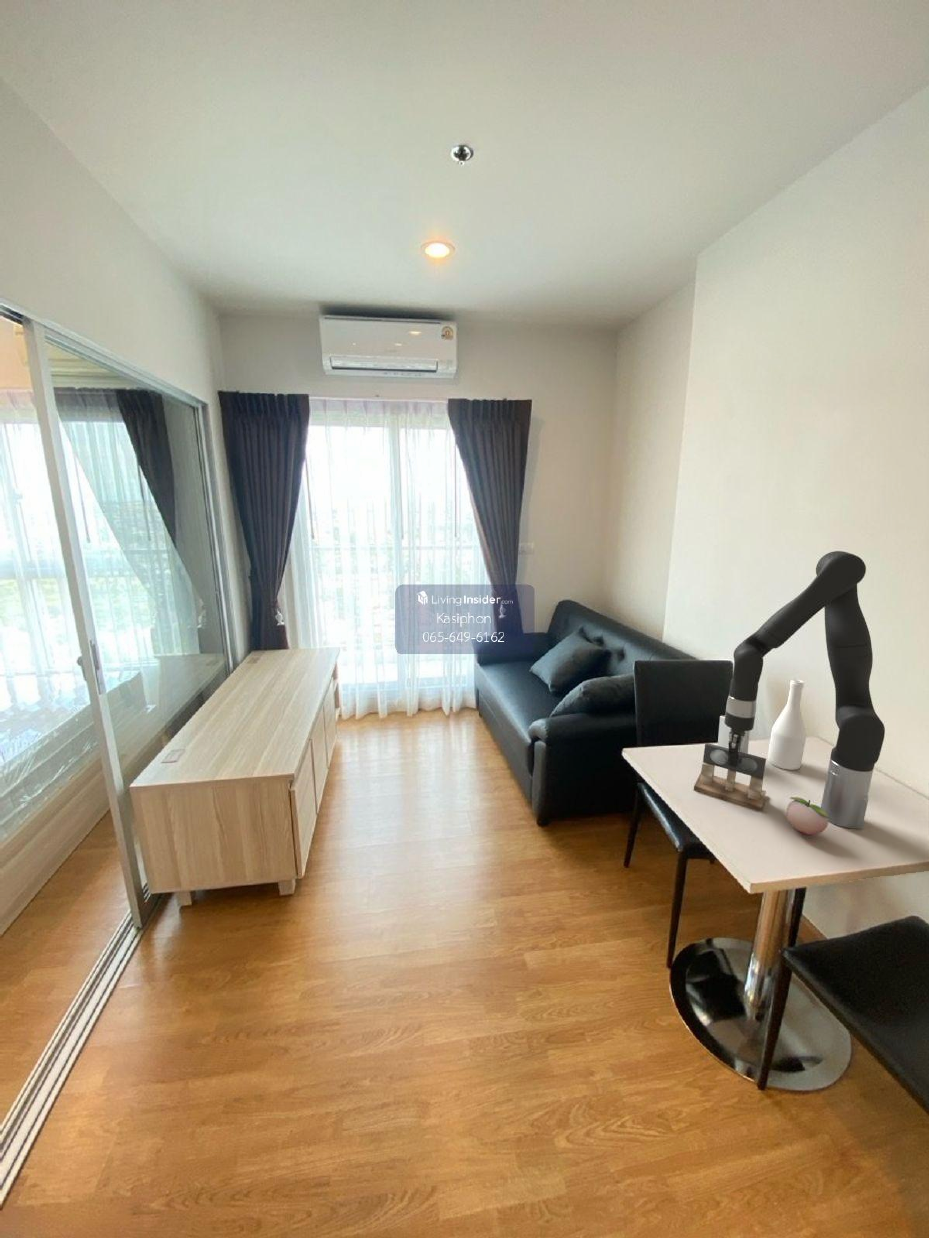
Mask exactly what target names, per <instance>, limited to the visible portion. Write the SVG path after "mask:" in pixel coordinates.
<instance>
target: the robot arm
mask: <svg viewBox="0 0 929 1238" xmlns="http://www.w3.org/2000/svg"><path fill="white" fill-rule="evenodd" d="M815 574H816V577H815V578H814V579H813V580H812V582H811V583H810V584H809V585H808V586H807V587H806V588H805V589H804V590H803V591H802V592H801V593H800V594H799V595H797V596H796V597H794V599H791V601H789V602H788V603H787V604H784V606H782V607H781V608H779V609H778V610H777V611H776V612H775V613H773V614H772V615H771V616H770V617H769V618H768V619H767V620H766V621H765V622H764V623H762V625H761V626H760V627H759V628H758V630H756V631H755V632H753V633H752V634H751V635H750V636H748V637H747V638H745V639H743V640H742V642H741V643H739V644H738V645H737V646H736V648H735V649H734V651H733V662H734V663H733V675H732V678H731V679H730V683H729V684H730V685H729V692H728V697H727V700H726V707H725V713H724V714H725V721H724V723H725V724H726V726H728V727H730V728H731V730H730V732H729V743H728V746H729V751H728V755H730V756H729V763H728V765H729V766H732V767H737V762H738V756H739V752H740V751H741V749H742V746H743V743H744V738H745V736H746V732H745V731H750V732H751V731H752V730H753V729H754V726H755V720H756V719H755V718H756V712H757V699H758V693H759V683H760V679H761V676H762V672H763V667H764V657H766V655H767V654H768V653H770V652H771V651H772V650H775V649H778V648H780V647H781V646H782V645H784V644H785V643H786V642H787V641H788V640H790V638H791V637H792V636H793V635H795V634H796V633H797V632H798V630H799V629H801V628H802V627H803V626H805V624H806V623H807V622H809V621H810V620H811V619H812V618H813V617H814V616H815V615H816V614H818V613H819V612H821V610H823V609H824V631H825V643H826V651H827V652H826V653H827V657H828V663H829V668H830V672H831V677H832V679H833V684H834V690H835V709H834V710H835V711H834V716H835V717H834V718H835V719H834V720H835V723H836V726H837V728H838V735H837V739H836V745H835V746H834V747H833V748H832V749H831V752H830V757H829V761H828V762H829V763H828V767H827V773H826V778H825V784H824V788H823V794H822V800H821V803H820V804H821V805H820V808H822V809H823V810H824V811H825V813H826V814H827V816H828V818H829V819H828V822H830V823H832V824H834V825H836V826H839V827H842V828H847V829H858V830H862V829H863V826H864V821H865V818H866V817H865V816H866V812H867V806H868V803H869V791H870V787H871V786H870V785H871V782H872V777H873V773H874V768H875V765H876V763H878V761H879V759H880V755H881V752H882V748H883V743H884V741H885V734H886V731H885V729H886V728H885V724H884V723H883V721H882V720H881V718H880V717H879V715H877V713H876V711H875V707H874V704H873V701H872V697H871V696H872V695H871V691H870V678H871V674H872V670H873V664H874V663H873V661H874V660H873V659H874V658H873V647H872V639H871V638H872V637H871V635H870V630H869V627H868V625H867V622H866V617H865V616H864V613H863V611H862V608H861V606H860V601H859V596H858V595H859V594H858V584H859V583H860V582H861V581H862V580H863V579H864V578H865V576H866V574H867V567H866V564H865V562H864V560H863V559H862V558H861V557H860V556H858V555H855V554H853V553H850V552H847V551H841V550H835V551H831V552H827V553H826V554H824V555H823V556H822V557H820V559H819V560H818V561H817V564H816V567H815Z"/></svg>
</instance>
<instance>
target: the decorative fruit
mask: <svg viewBox="0 0 929 1238" xmlns="http://www.w3.org/2000/svg"><path fill="white" fill-rule="evenodd" d="M789 799H791V800H792V801H790V802H789V804H787V807H786V811H785V812H786V814H785V815H786V817H787V820H788V823H789V824H790V825H791V826H792V827H793V828H794V829H795V830H797V831H800V832H801V833H803V834H806V835H810V836H811V835H812V836H813V835H815V836H816V835H819V834H821V833H822V832H824V831H825V830H826V829H827V828H828V826H829V821H828V819H829V818H828V816H827V814H826V813H825V811H824V810H823V809H822V808H821V806H819V805H817V804H815V803H814V804H813V803H811V800H810V799H808V801H807V800H805V798H801V797H799V796H794V797H793V796H791V797H789Z"/></svg>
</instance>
